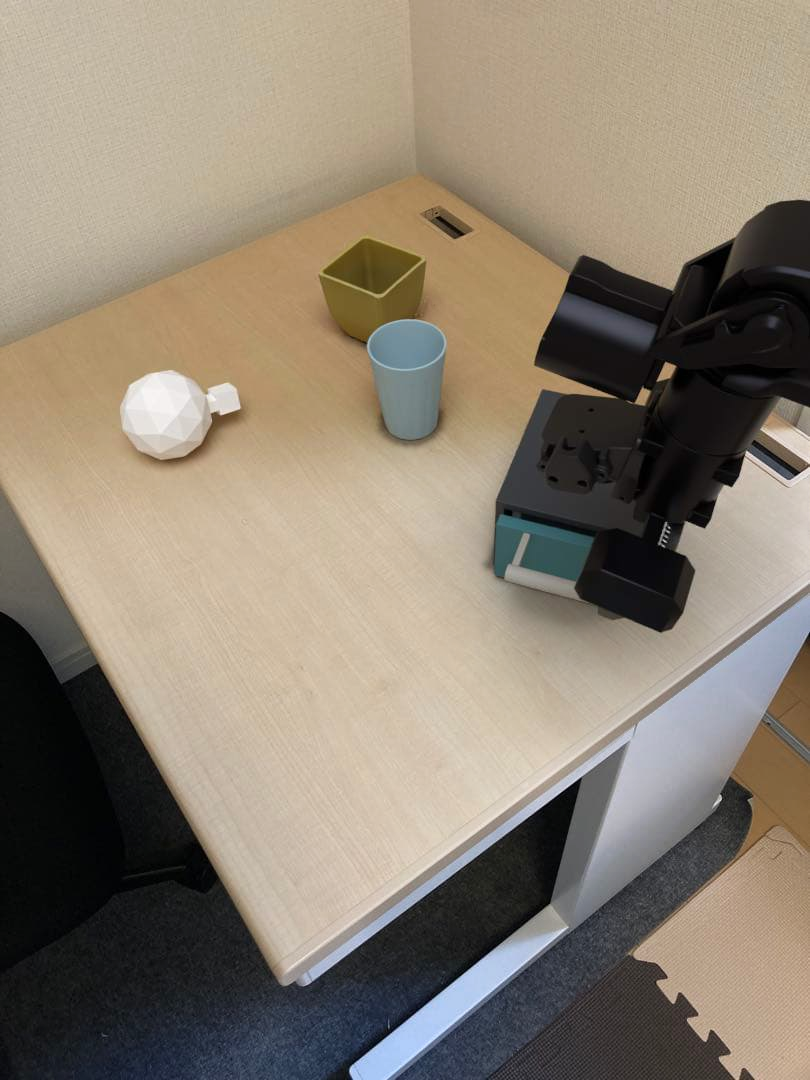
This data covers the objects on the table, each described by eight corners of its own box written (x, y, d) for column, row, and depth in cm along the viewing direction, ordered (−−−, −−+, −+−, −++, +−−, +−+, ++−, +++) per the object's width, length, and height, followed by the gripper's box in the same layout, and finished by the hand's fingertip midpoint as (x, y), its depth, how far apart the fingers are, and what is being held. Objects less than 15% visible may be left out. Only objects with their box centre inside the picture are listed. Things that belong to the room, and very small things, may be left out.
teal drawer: (607, 655, 76) (619, 604, 70) (476, 618, 79) (478, 566, 73) (651, 497, 86) (664, 442, 80) (534, 470, 89) (539, 414, 83)
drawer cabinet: (629, 601, 80) (645, 537, 73) (492, 565, 83) (495, 500, 76) (661, 484, 88) (678, 417, 81) (536, 455, 92) (542, 388, 85)
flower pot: (370, 299, 109) (364, 232, 102) (430, 323, 106) (428, 255, 99) (325, 339, 105) (315, 272, 98) (386, 365, 102) (380, 298, 95)
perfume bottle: (148, 485, 89) (259, 445, 94) (122, 399, 84) (241, 362, 89) (122, 455, 96) (227, 420, 101) (97, 374, 91) (208, 341, 96)
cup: (460, 408, 96) (459, 329, 88) (429, 456, 92) (425, 378, 84) (396, 389, 99) (390, 311, 91) (363, 435, 95) (353, 357, 87)
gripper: (617, 278, 59) (557, 437, 71) (523, 477, 48) (472, 622, 61) (784, 339, 57) (692, 491, 70) (725, 559, 47) (630, 690, 59)
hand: (623, 565), depth 65 cm, fingers open, 9 cm apart
